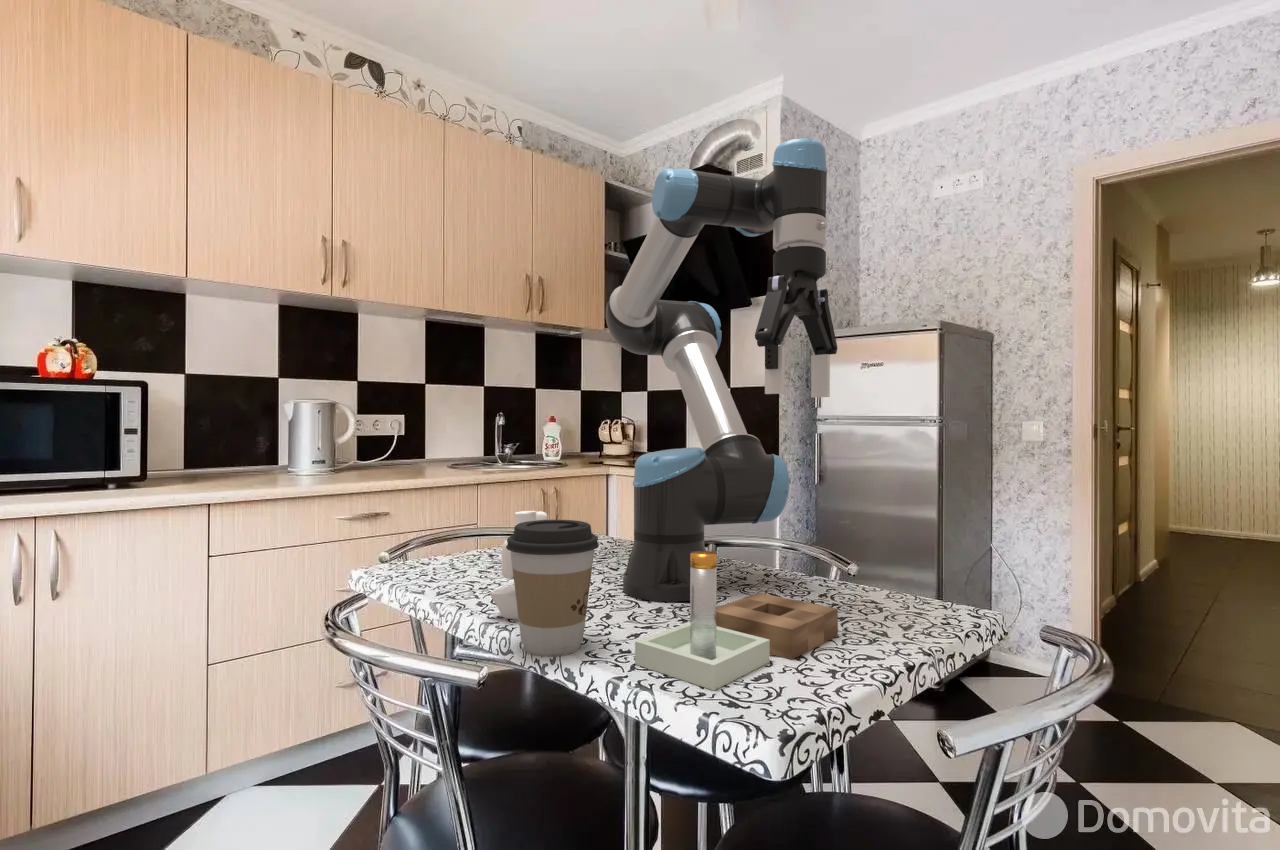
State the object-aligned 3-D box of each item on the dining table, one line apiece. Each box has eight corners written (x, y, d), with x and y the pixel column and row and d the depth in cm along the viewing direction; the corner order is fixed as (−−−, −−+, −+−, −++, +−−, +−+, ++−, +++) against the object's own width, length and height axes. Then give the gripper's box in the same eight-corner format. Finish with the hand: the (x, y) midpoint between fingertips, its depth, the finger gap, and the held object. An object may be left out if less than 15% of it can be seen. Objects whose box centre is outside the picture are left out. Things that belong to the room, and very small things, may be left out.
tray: (635, 664, 75) (635, 641, 75) (693, 640, 83) (693, 620, 83) (713, 690, 68) (713, 665, 68) (769, 662, 76) (769, 639, 76)
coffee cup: (586, 666, 74) (586, 533, 74) (490, 660, 76) (491, 530, 76) (607, 634, 85) (607, 519, 85) (523, 629, 87) (524, 517, 87)
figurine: (484, 621, 91) (484, 513, 91) (522, 604, 100) (522, 505, 100) (528, 627, 88) (529, 516, 88) (563, 609, 97) (564, 508, 97)
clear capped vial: (684, 658, 75) (685, 553, 75) (700, 651, 77) (700, 549, 77) (705, 664, 73) (706, 557, 73) (721, 657, 75) (721, 553, 75)
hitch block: (708, 637, 85) (708, 610, 85) (758, 617, 94) (758, 592, 94) (792, 659, 77) (792, 629, 77) (837, 635, 86) (837, 608, 86)
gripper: (778, 225, 84) (777, 391, 84) (859, 262, 103) (859, 397, 103) (729, 236, 89) (728, 392, 89) (815, 269, 108) (815, 398, 108)
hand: (798, 395), depth 96 cm, fingers open, 13 cm apart
